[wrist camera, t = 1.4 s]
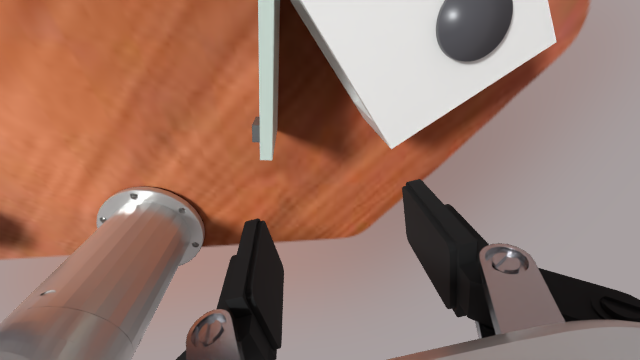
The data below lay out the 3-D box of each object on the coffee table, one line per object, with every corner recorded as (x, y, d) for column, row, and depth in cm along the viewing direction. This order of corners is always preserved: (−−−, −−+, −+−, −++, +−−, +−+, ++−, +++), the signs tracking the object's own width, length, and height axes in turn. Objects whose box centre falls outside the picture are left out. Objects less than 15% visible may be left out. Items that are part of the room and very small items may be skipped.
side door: (259, 127, 31) (247, 159, 22) (257, -12, 25) (241, -38, 17) (277, 128, 31) (272, 160, 23) (280, -10, 25) (274, -33, 17)
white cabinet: (363, 118, 32) (393, 151, 22) (276, -22, 25) (266, -60, 15) (475, 41, 29) (563, 41, 19) (411, -140, 22) (499, -274, 13)
